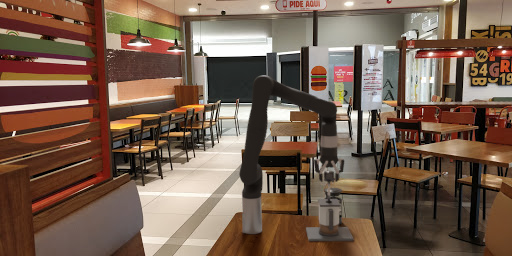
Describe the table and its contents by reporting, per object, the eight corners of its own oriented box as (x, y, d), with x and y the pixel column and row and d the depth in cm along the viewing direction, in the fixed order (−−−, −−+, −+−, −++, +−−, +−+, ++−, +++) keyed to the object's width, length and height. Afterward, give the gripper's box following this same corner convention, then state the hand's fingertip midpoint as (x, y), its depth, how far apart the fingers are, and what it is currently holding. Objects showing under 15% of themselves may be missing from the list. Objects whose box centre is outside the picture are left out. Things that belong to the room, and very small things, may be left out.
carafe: (320, 239, 181) (320, 207, 180) (317, 228, 194) (317, 199, 192) (341, 238, 181) (342, 207, 179) (337, 228, 193) (337, 198, 191)
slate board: (308, 241, 182) (308, 238, 182) (306, 229, 196) (306, 227, 196) (353, 240, 182) (353, 238, 181) (347, 229, 195) (347, 227, 195)
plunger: (324, 205, 185) (324, 173, 183) (323, 202, 189) (323, 170, 187) (334, 205, 185) (334, 173, 183) (332, 202, 189) (333, 170, 187)
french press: (343, 219, 209) (343, 176, 206) (344, 225, 200) (344, 180, 197) (320, 218, 211) (320, 175, 208) (320, 225, 202) (320, 180, 199)
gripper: (314, 147, 180) (314, 183, 182) (346, 146, 180) (346, 183, 182) (312, 144, 188) (312, 179, 190) (343, 143, 187) (343, 179, 189)
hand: (328, 181), depth 186 cm, fingers open, 6 cm apart
